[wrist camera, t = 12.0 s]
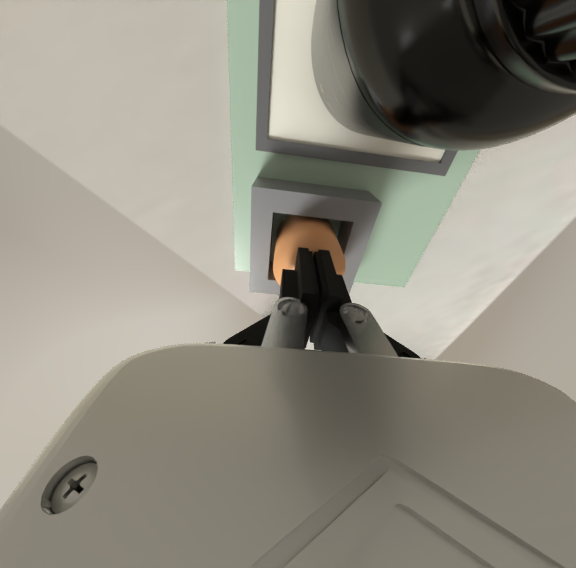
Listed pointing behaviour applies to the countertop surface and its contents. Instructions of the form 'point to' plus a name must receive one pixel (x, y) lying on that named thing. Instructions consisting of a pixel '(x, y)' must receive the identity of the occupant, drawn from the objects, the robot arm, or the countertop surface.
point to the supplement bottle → (446, 68)
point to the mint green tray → (321, 159)
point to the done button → (305, 242)
